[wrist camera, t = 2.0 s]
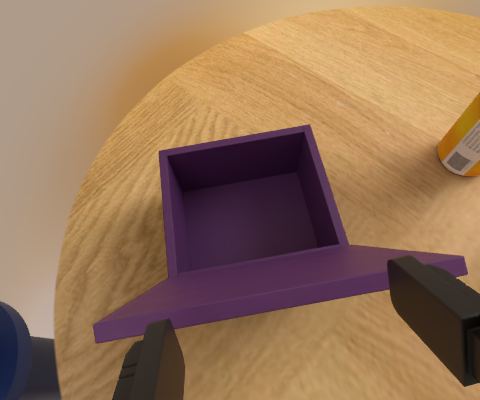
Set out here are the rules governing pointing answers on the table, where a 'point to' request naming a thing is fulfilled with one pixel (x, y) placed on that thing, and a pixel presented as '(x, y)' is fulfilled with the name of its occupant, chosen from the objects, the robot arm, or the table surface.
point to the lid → (263, 288)
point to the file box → (246, 201)
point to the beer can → (463, 143)
